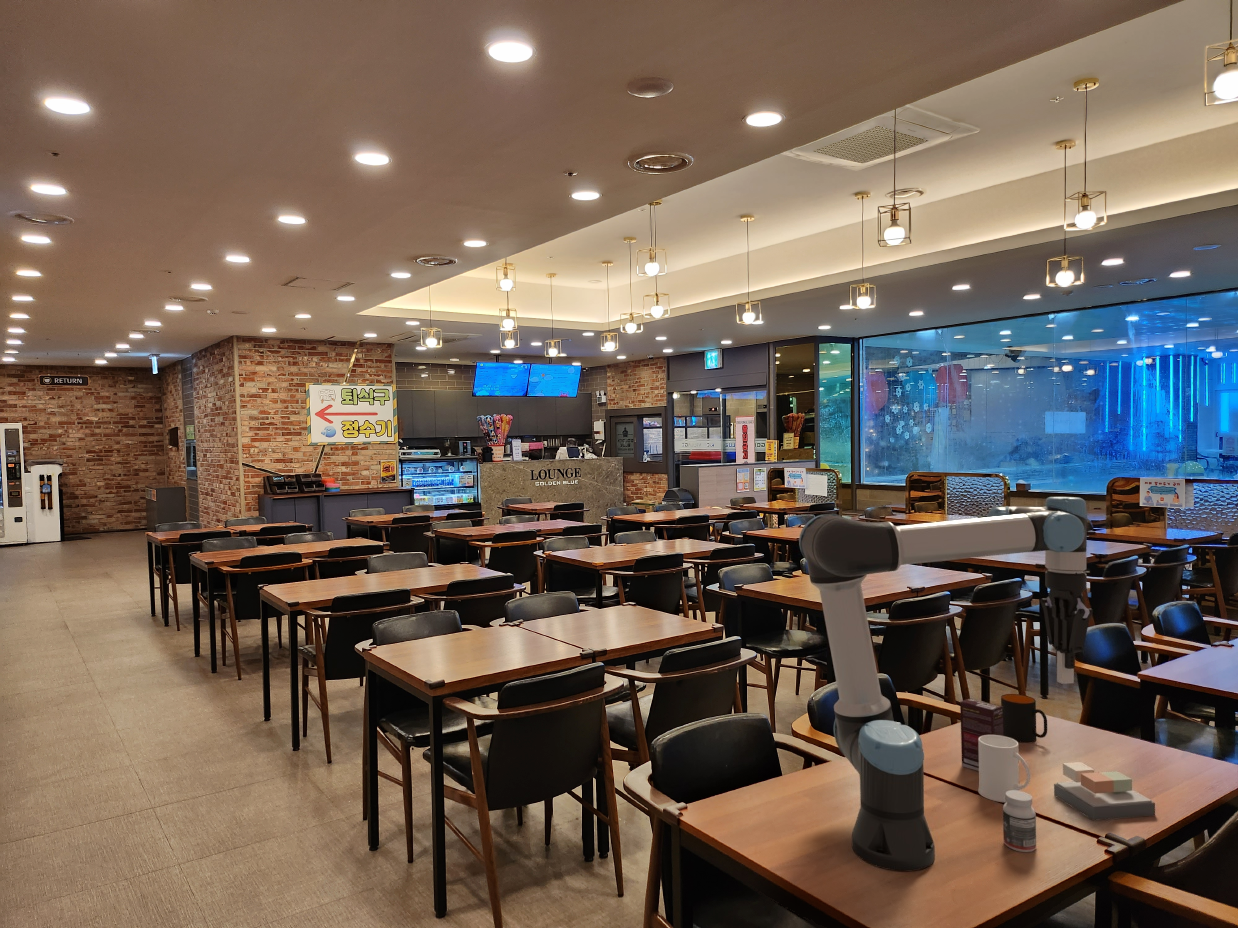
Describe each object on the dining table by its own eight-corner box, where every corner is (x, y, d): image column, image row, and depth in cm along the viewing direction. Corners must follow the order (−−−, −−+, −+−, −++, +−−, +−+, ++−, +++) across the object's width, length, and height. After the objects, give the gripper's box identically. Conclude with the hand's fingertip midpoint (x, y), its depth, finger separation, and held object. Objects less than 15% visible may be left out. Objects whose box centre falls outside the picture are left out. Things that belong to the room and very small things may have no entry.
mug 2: (1042, 804, 168) (1041, 749, 167) (1012, 811, 164) (1011, 755, 164) (998, 783, 179) (997, 731, 178) (969, 789, 176) (968, 737, 175)
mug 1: (1037, 749, 198) (1037, 709, 198) (994, 735, 208) (994, 697, 208) (1056, 742, 202) (1056, 703, 202) (1014, 729, 213) (1013, 691, 212)
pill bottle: (1004, 835, 154) (1003, 786, 154) (1036, 842, 152) (1036, 792, 151) (1002, 848, 149) (1001, 797, 149) (1035, 855, 147) (1034, 803, 147)
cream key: (1076, 782, 167) (1076, 770, 167) (1063, 774, 171) (1062, 763, 171) (1094, 780, 167) (1094, 769, 167) (1080, 773, 171) (1080, 761, 171)
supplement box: (1005, 771, 185) (1004, 705, 185) (994, 777, 182) (993, 710, 182) (971, 760, 192) (970, 697, 192) (960, 765, 189) (959, 701, 189)
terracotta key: (1095, 793, 161) (1095, 781, 161) (1080, 784, 165) (1080, 773, 165) (1113, 791, 162) (1113, 780, 162) (1099, 783, 166) (1098, 771, 166)
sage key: (1113, 791, 165) (1113, 780, 165) (1099, 783, 169) (1099, 772, 169) (1132, 790, 165) (1131, 778, 165) (1117, 782, 169) (1117, 770, 169)
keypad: (1093, 820, 160) (1093, 805, 160) (1054, 795, 172) (1053, 781, 172) (1155, 815, 161) (1154, 800, 161) (1112, 790, 173) (1111, 777, 173)
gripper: (1105, 574, 156) (1104, 691, 157) (1060, 565, 169) (1060, 673, 170) (1071, 575, 155) (1070, 692, 156) (1029, 566, 168) (1028, 674, 169)
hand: (1065, 682), depth 163 cm, fingers closed
